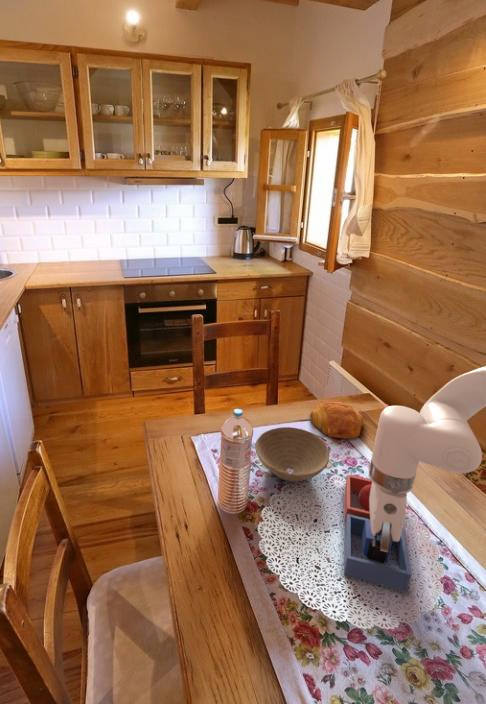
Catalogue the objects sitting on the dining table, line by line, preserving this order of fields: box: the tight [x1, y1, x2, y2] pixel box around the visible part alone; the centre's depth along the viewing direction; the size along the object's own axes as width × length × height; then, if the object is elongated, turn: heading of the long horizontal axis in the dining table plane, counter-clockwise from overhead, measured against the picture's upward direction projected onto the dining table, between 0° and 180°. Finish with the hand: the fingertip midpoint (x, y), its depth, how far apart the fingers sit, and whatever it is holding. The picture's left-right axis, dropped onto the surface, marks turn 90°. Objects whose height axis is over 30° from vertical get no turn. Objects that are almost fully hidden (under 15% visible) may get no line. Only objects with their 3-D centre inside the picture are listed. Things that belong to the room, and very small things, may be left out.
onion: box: [358, 484, 372, 512], centre depth 90 cm, size 6×6×8 cm
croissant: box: [309, 401, 364, 439], centre depth 122 cm, size 14×16×8 cm
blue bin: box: [343, 514, 412, 593], centre depth 79 cm, size 11×11×5 cm
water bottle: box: [217, 408, 254, 515], centre depth 88 cm, size 7×7×25 cm
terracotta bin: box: [343, 474, 372, 524], centre depth 91 cm, size 11×11×5 cm
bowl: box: [254, 426, 330, 483], centre depth 102 cm, size 18×18×8 cm
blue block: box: [361, 520, 393, 563], centre depth 78 cm, size 4×4×4 cm
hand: (374, 547), depth 79 cm, fingers closed on blue block, 4 cm apart
